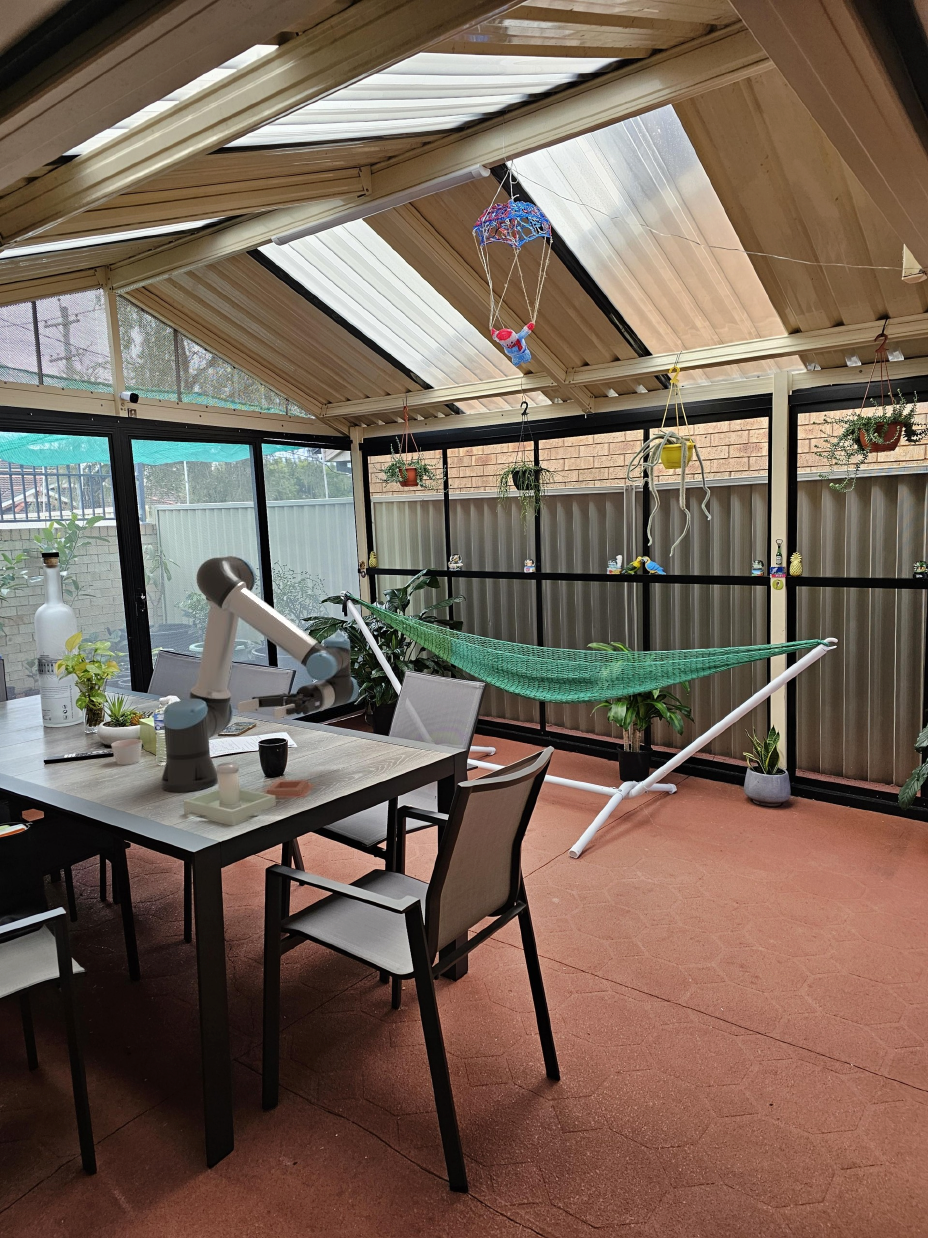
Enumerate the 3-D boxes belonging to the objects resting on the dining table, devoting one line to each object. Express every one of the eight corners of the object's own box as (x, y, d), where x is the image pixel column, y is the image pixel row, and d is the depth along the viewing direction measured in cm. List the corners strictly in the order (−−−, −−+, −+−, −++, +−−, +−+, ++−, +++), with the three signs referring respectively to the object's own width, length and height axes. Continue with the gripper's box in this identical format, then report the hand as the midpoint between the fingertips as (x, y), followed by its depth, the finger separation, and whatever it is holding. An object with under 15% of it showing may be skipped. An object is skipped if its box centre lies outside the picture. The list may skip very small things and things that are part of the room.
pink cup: (148, 758, 268) (146, 739, 267) (136, 766, 259) (134, 746, 258) (120, 759, 268) (119, 739, 268) (107, 766, 259) (106, 746, 259)
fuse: (216, 811, 209) (213, 768, 208) (223, 804, 214) (221, 762, 213) (236, 811, 209) (234, 767, 208) (243, 804, 214) (241, 762, 213)
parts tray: (184, 814, 211) (183, 800, 210) (228, 798, 222) (227, 785, 222) (232, 825, 201) (232, 811, 201) (276, 809, 212) (275, 795, 212)
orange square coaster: (259, 801, 219) (259, 792, 219) (272, 787, 231) (272, 778, 231) (304, 800, 218) (304, 791, 218) (315, 787, 230) (315, 778, 230)
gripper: (348, 715, 228) (291, 731, 211) (283, 705, 242) (225, 719, 225) (347, 688, 228) (291, 701, 210) (282, 680, 241) (224, 691, 224)
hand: (256, 710), depth 217 cm, fingers open, 13 cm apart
